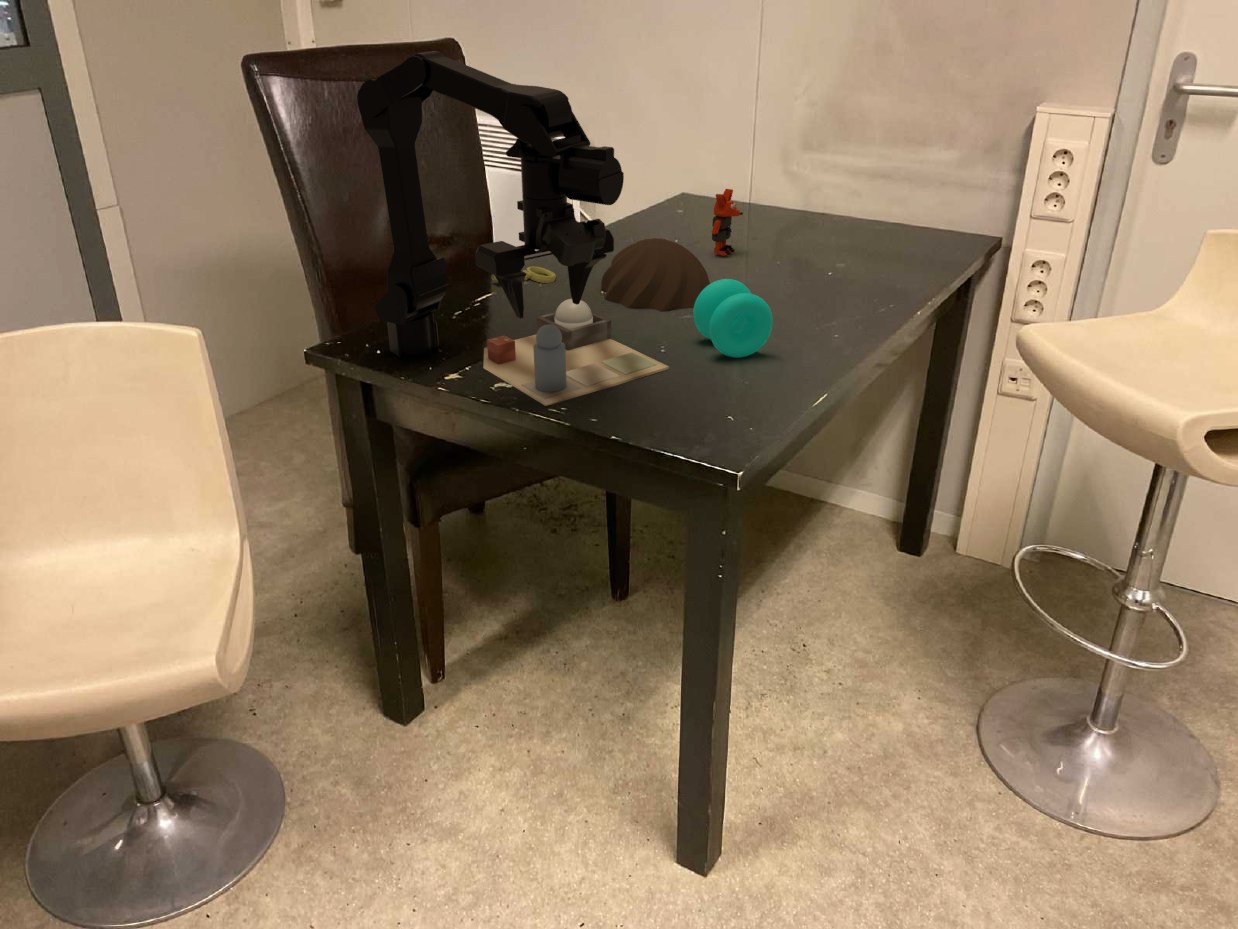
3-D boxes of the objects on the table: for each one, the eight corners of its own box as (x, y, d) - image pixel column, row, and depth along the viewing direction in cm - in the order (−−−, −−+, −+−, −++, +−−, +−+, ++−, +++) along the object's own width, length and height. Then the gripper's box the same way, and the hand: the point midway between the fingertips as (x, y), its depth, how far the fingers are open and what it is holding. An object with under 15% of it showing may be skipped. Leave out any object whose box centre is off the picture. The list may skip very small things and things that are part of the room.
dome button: (569, 344, 155) (568, 308, 152) (547, 333, 159) (546, 298, 156) (600, 336, 158) (600, 300, 155) (578, 325, 162) (577, 290, 160)
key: (488, 285, 182) (488, 274, 181) (538, 270, 190) (537, 259, 189) (515, 294, 178) (515, 282, 177) (564, 279, 186) (564, 267, 185)
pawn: (546, 394, 139) (543, 333, 135) (529, 384, 142) (526, 324, 138) (572, 387, 141) (570, 326, 137) (555, 377, 144) (552, 317, 140)
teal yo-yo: (712, 363, 150) (715, 299, 146) (689, 340, 159) (691, 279, 154) (773, 356, 153) (778, 293, 148) (747, 334, 161) (751, 273, 156)
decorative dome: (699, 315, 169) (702, 257, 164) (587, 305, 174) (586, 249, 169) (719, 281, 186) (722, 227, 181) (616, 272, 190) (615, 220, 185)
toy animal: (732, 259, 197) (736, 198, 191) (707, 256, 199) (709, 195, 193) (747, 249, 203) (750, 189, 197) (722, 246, 205) (725, 186, 200)
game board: (545, 407, 136) (544, 383, 135) (460, 356, 152) (458, 335, 151) (669, 368, 148) (670, 346, 147) (579, 325, 164) (578, 304, 163)
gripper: (517, 219, 118) (523, 343, 126) (640, 196, 128) (639, 312, 136) (469, 200, 126) (477, 318, 133) (588, 180, 136) (590, 291, 143)
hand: (548, 310), depth 136 cm, fingers open, 9 cm apart
